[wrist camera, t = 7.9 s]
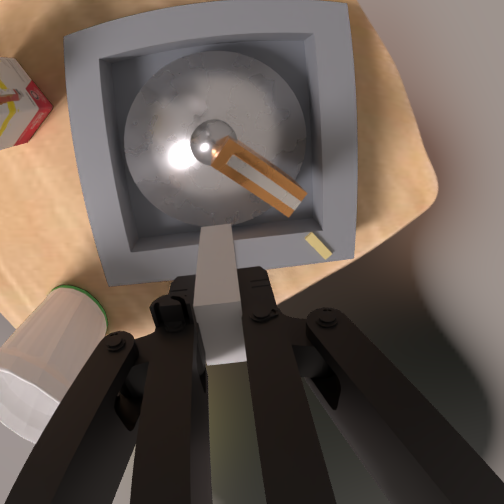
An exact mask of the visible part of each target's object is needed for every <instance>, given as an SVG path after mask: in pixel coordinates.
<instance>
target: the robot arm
mask: <svg viewBox="0 0 504 504" xmlns="http://www.w3.org/2000/svg"><path fill="white" fill-rule="evenodd" d="M149 308H150V311H151V314H152V317H153V320H154V323H155V326H156V329H155V332H153V333H152V334H149V335H147V336H144V337H141V338H137V339H134V337H133V336H132V335H131V334H130V333H128V332H125V331H117V332H113V333H110V334H109V335H107V336H105V337H104V338H103V339H102V340H101V341H100V342H99V344H98V345H97V347H96V348H95V350H94V351H93V353H92V354H91V356H90V357H89V359H88V360H87V362H86V363H85V365H84V366H83V368H82V369H81V371H80V372H79V374H78V375H77V377H76V378H75V380H74V382H73V383H72V385H71V386H70V388H69V389H68V391H67V393H66V394H65V396H64V397H63V399H62V401H61V402H60V404H59V405H58V407H57V409H56V410H55V412H54V414H53V415H52V417H51V419H50V420H49V422H48V424H47V425H46V427H45V429H44V431H43V432H42V434H41V436H40V437H39V439H38V441H37V443H36V444H35V446H34V448H33V450H32V452H31V453H30V455H29V457H28V459H27V461H26V463H25V464H24V467H23V468H22V470H21V472H20V474H19V476H18V478H17V480H16V482H15V483H14V485H13V487H12V489H11V491H10V493H9V496H8V497H7V500H6V502H5V504H112V502H113V499H114V497H115V494H116V492H117V489H118V487H119V484H120V482H121V479H122V477H123V474H124V472H125V469H126V467H127V464H128V462H129V459H130V456H131V454H132V452H133V449H134V447H135V445H136V449H135V458H134V467H133V476H132V486H131V498H130V504H213V503H212V487H211V466H210V441H209V410H208V409H209V408H208V374H207V371H206V367H205V366H206V364H205V363H206V361H207V365H214V364H224V363H234V362H242V361H247V366H248V374H249V381H250V389H251V396H252V403H253V411H254V418H255V426H256V433H257V440H258V447H259V454H260V461H261V468H262V475H263V482H264V488H265V494H266V502H267V504H336V500H335V497H334V493H333V489H332V486H331V482H330V479H329V475H328V471H327V468H326V464H325V461H324V457H323V454H322V450H321V446H320V443H319V439H318V436H317V432H316V429H315V425H314V422H313V418H312V415H311V411H310V408H309V404H308V401H307V397H306V394H305V390H304V387H303V383H302V380H301V377H305V380H306V382H307V383H308V385H309V386H310V388H311V389H312V391H313V392H314V394H315V395H316V397H317V398H318V400H319V401H320V403H321V404H322V405H323V407H324V408H325V410H326V411H327V413H328V414H329V416H330V417H331V419H332V420H333V422H334V423H335V425H336V426H337V428H338V429H339V430H340V432H341V433H342V435H343V436H344V438H345V439H346V441H347V442H348V444H349V445H350V446H351V448H352V449H353V451H354V452H355V454H356V455H357V456H358V458H359V459H360V461H361V462H362V463H363V465H364V466H365V468H366V469H367V471H368V472H369V473H370V475H371V476H372V478H373V479H374V480H375V482H376V483H377V485H378V486H379V488H380V489H381V490H382V492H383V493H384V495H385V496H386V497H387V499H388V500H389V501H390V503H391V504H504V483H503V482H502V480H501V479H500V478H499V477H498V476H497V475H496V474H495V472H494V471H493V470H492V469H491V468H490V467H489V466H488V465H487V464H486V462H485V461H484V460H483V459H482V458H481V457H480V456H479V455H478V454H477V453H476V452H475V450H474V449H473V448H472V447H471V446H470V445H469V444H468V443H467V442H466V441H465V440H464V438H463V437H462V436H461V435H460V434H459V433H458V432H457V431H456V430H455V429H454V428H453V427H452V426H451V424H450V423H449V422H448V421H447V420H446V419H445V418H444V417H443V416H442V415H441V414H440V413H439V412H438V411H437V409H436V408H435V407H434V406H433V405H432V404H431V403H430V402H429V401H428V400H427V399H426V398H425V397H424V396H423V395H422V393H421V392H420V391H419V390H418V389H417V388H416V387H415V386H414V385H413V384H412V383H411V382H410V381H409V380H408V379H407V378H406V377H405V376H404V375H403V374H402V373H401V371H400V370H399V369H398V368H397V367H396V366H395V365H394V364H393V363H392V362H391V361H390V360H389V359H388V358H387V357H386V356H385V355H384V354H383V353H382V352H381V351H380V350H379V349H378V348H377V347H376V346H375V345H374V344H373V343H372V342H371V341H370V340H369V338H368V337H367V336H366V335H364V333H363V332H362V331H360V329H359V328H358V327H357V326H356V325H355V324H354V323H353V322H352V321H351V320H350V319H349V318H348V317H347V316H346V315H345V314H344V313H342V312H341V311H339V310H337V309H333V308H319V309H316V310H314V311H312V312H310V314H309V315H308V316H307V319H299V318H292V317H289V316H286V315H284V314H282V312H281V311H280V309H279V308H277V305H276V302H275V298H274V295H273V291H272V288H271V284H270V281H269V277H268V274H267V271H266V270H264V269H263V268H262V267H261V266H255V267H247V268H239V269H237V268H236V260H235V252H234V244H233V236H232V228H231V224H223V225H214V226H206V227H201V232H200V241H199V250H198V260H197V270H196V274H194V275H186V276H177V277H176V278H175V280H174V281H173V282H172V283H171V286H170V292H169V294H168V295H164V296H162V297H159V298H157V299H156V300H155V301H154V302H152V304H151V306H150V307H149Z"/></svg>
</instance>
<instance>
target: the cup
mask: <svg viewBox="0 0 504 504" xmlns="http://www.w3.org/2000/svg"><path fill="white" fill-rule="evenodd" d="M107 326H108V322H107V317H106V313H105V311H104V309H103V308H102V306H101V305H100V303H99V302H98V301H97V300H96V299H95V298H94V297H93V296H92V295H90V294H89V293H88V292H87V291H84V290H82V289H80V288H77V287H75V286H68V285H61V286H59V287H56V288H54V289H53V290H52V291H51V292H50V293H49V294H48V295H47V297H46V298H45V300H44V301H43V302H42V303H41V304H40V305H39V306H38V307H37V308H36V309H35V310H34V311H33V312H32V313H31V314H30V315H29V316H28V317H27V319H26V320H25V321H24V322H23V323H22V324H21V325H20V326H19V327H18V328H17V329H16V331H15V332H14V333H13V334H12V335H11V336H10V337H9V338H8V340H7V341H6V342H5V343H4V344H3V345H2V346H1V348H0V422H1V423H2V424H3V425H5V426H6V427H8V428H9V429H10V430H12V431H13V432H15V433H16V434H18V435H19V436H21V437H22V438H24V439H26V440H28V441H30V442H32V443H34V444H36V443H37V441H38V439H39V437H40V436H41V434H42V432H43V431H44V429H45V427H46V425H47V424H48V422H49V420H50V419H51V417H52V415H53V414H54V412H55V410H56V409H57V407H58V405H59V404H60V402H61V401H62V399H63V397H64V396H65V394H66V393H67V391H68V389H69V388H70V386H71V385H72V383H73V382H74V380H75V378H76V377H77V375H78V374H79V372H80V371H81V369H82V368H83V366H84V365H85V363H86V362H87V360H88V359H89V357H90V356H91V354H92V353H93V351H94V350H95V348H96V347H97V345H98V344H99V342H100V341H101V340H102V339H103V338H104V337H105V334H106V330H107Z"/></svg>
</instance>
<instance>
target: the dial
mask: <svg viewBox="0 0 504 504" xmlns="http://www.w3.org/2000/svg"><path fill="white" fill-rule="evenodd" d="M305 149H306V125H305V120H304V116H303V112H302V109H301V107H300V104H299V102H298V100H297V98H296V96H295V94H294V92H293V91H292V89H291V88H290V87H289V85H288V84H287V83H286V82H285V80H284V79H283V78H282V77H281V76H280V75H279V74H278V73H276V72H275V71H274V70H273V69H271V68H270V67H269V66H267V65H265V64H264V63H262V62H260V61H259V60H256V59H254V58H252V57H249V56H247V55H243V54H239V53H236V52H229V51H205V52H198V53H194V54H191V55H187V56H184V57H182V58H180V59H177V60H175V61H173V62H171V63H170V64H168V65H166V66H165V67H163V68H162V69H160V70H159V71H158V72H157V73H155V74H154V75H153V76H152V77H151V78H150V79H149V80H148V81H147V82H146V83H145V84H144V86H143V87H142V89H141V90H140V91H139V93H138V94H137V96H136V98H135V100H134V101H133V103H132V105H131V108H130V111H129V113H128V116H127V120H126V125H125V132H124V150H125V156H126V161H127V165H128V168H129V171H130V173H131V175H132V178H133V180H134V182H135V183H136V185H137V186H138V188H139V190H140V191H141V192H142V194H143V195H144V196H145V197H146V198H147V199H148V200H149V201H150V202H151V203H152V204H153V205H154V206H155V207H156V208H158V209H159V210H161V211H162V212H164V213H165V214H167V215H169V216H170V217H172V218H174V219H176V220H179V221H182V222H185V223H188V224H192V225H196V226H204V227H206V226H214V225H223V224H231V225H235V224H239V223H242V222H245V221H248V220H250V219H253V218H255V217H257V216H258V215H260V214H262V213H264V212H265V211H267V210H268V209H269V208H271V207H274V208H275V209H277V210H278V211H280V212H281V213H283V214H284V215H286V216H287V217H288V218H289V217H290V216H291V214H292V213H293V212H294V210H295V209H296V208H297V207H298V206H299V204H300V203H301V201H302V200H303V199H304V197H305V196H306V195H307V194H308V193H307V192H306V191H305V190H304V189H303V188H302V187H301V186H300V185H299V184H298V183H297V182H296V181H295V179H296V177H297V175H298V173H299V171H300V168H301V165H302V162H303V159H304V154H305Z"/></svg>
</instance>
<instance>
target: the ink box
mask: <svg viewBox="0 0 504 504" xmlns="http://www.w3.org/2000/svg"><path fill="white" fill-rule="evenodd" d="M52 108H53V106H52V104H51V103H50V102H49V101H48V100H47V98H46V97H45V96H44V95H43V93H42V92H41V91H40V90H39V88H38V87H37V86H36V85H35V83H34V82H33V81H32V80H31V78H30V77H29V76H28V75H27V73H26V72H25V71H24V69H23V68H22V67H21V66H20V64H19V63H18V62H17V60H16V59H15V58H7V57H0V150H2V149H6V148H9V147H12V146H16V145H20V144H24V143H28V141H29V140H30V138H31V137H32V135H33V134H34V132H35V131H36V130H37V128H38V127H39V126H40V124H41V123H42V122H43V120H44V119H45V118H46V117H47V115H48V114H49V113H50V111H51V110H52Z"/></svg>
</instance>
